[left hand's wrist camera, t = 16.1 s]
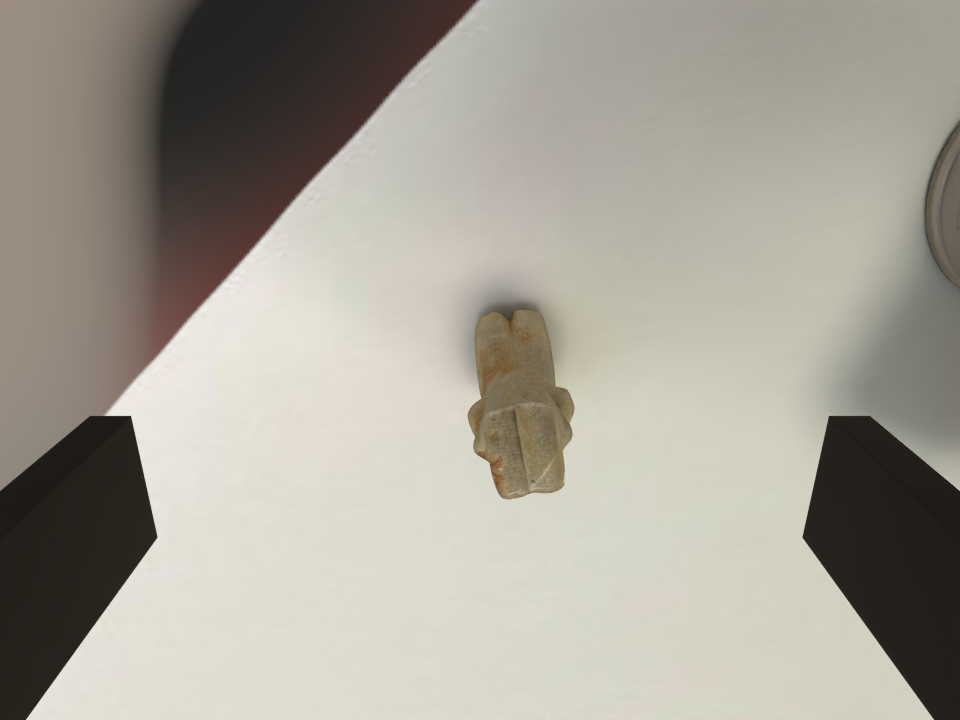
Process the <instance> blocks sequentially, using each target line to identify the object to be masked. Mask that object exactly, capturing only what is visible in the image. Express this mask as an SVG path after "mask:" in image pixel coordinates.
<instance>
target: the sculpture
mask: <svg viewBox="0 0 960 720" xmlns="http://www.w3.org/2000/svg"><path fill="white" fill-rule="evenodd" d="M475 350H476V364H477V375H478V381H479V388H480V394H481V398H482V399H480V400H479V401H477V402H476V403H475V404H474V405H473V406H472V407H471V408H470V410H469V412H468V420H469V424H470V427H471V429H472V432H473V433H474V435H475V439H474V445H473V447H474V451H475V453H476V454H477V455H479V456H480V457H482V458H484V459H485V460H487V461H488V462H489V463H490V467H491V473H492V477H493V480H494V483H495V486H496V489H497V491H498V493H499V495H500V496H501V497H502V498H504V499H514V498H519V497H523V496H525V495H527V494H530V493H552V492H555V491H558V490H559V489H561V488H562V487H563V486H564V472H565V468H564V458H563V449H564V447H565V446H566V445H567V444H568V443H569V441H570V440H571V438H572V435H573V434H572V429H571V426H570V424H569V422H570V421H571V418H572V416H573V414H574V404H573V401H572V398H571V396H570V394H569V392H568V390H566V389H564V388H560V387H555V374H554V365H553V358H552V352H551V347H550V342H549V338H548V333H547V330H546V326H545V322H544V319H543V317H542V315H541V314H540V313H538V312H536V311H530V310H521V309H520V310H516V311H515V312H514V313H513V317H512V319H511V320H508V319H506V318H505V317H504V316H503V315H501V314H500V313H496V312H492V313H489V314H487V315H485V316H483V317H481V318H480V319H479V321H478V322H477V325H476V332H475Z"/></svg>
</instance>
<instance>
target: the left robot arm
mask: <svg viewBox="0 0 960 720" xmlns="http://www.w3.org/2000/svg"><path fill="white" fill-rule="evenodd" d="M926 227H927V235H928V239H929V244H930V247H931V250H932V253H933V255H934V257H935V259H936V261H937V263H938V265H939V266H940V268H941V269H942V271H943V272H944V274H945V275H946V276H947V277H948V278H949V279H950V280H951V281H952V282H953V283H954V284H955V285H956V286H957V287H959V288H960V125H959V126H958V127H957V129H956V130H955V132H954V133H953V135H952V136H951V138H950V139H949V141H948V143H947V145H946V146H945V148H944V150H943V152H942V154H941V156H940V158H939V160H938V163H937V165H936V168H935V170H934V173H933V176H932V180H931V183H930V187H929V192H928V197H927V205H926ZM156 539H157V533H156V528H155V524H154V519H153V515H152V510H151V505H150V501H149V496H148V492H147V487H146V483H145V478H144V473H143V469H142V464H141V460H140V455H139V451H138V446H137V441H136V437H135V432H134V428H133V423H132V419H131V416H90V417H88V418H87V419H86V420H85V421H84V422H82V423H81V424H80V425H79V426H78V427H77V428H75V429H74V430H73V431H72V432H70V433H69V434H68V435H67V436H66V437H65V438H63V439H62V440H61V441H60V442H59V443H57V444H56V445H55V446H54V447H53V448H51V449H50V450H49V451H48V452H47V453H45V454H44V455H43V456H42V457H41V458H39V459H38V460H37V461H36V462H35V463H33V464H32V465H31V466H30V467H29V468H27V469H26V470H25V471H24V472H23V473H21V474H20V475H19V476H18V477H17V478H15V479H14V480H13V481H12V482H11V483H9V484H8V485H7V486H6V487H5V488H3V489H2V490H1V491H0V720H26V719H27V717H28V716H29V715H30V713H31V712H32V710H33V709H34V708H35V706H36V705H37V704H38V702H39V701H40V699H41V698H42V697H43V695H44V694H45V692H46V691H47V690H48V688H49V687H50V686H51V684H52V683H53V681H54V680H55V679H56V677H57V676H58V674H59V673H60V672H61V670H62V669H63V668H64V666H65V665H66V663H67V662H68V661H69V659H70V658H71V656H72V655H73V654H74V652H75V651H76V650H77V648H78V647H79V645H80V644H81V643H82V641H83V640H84V638H85V637H86V636H87V634H88V633H89V632H90V630H91V629H92V627H93V626H94V625H95V623H96V622H97V620H98V619H99V618H100V616H101V615H102V614H103V612H104V611H105V609H106V608H107V607H108V605H109V604H110V602H111V601H112V600H113V598H114V597H115V596H116V594H117V593H118V591H119V590H120V589H121V587H122V586H123V584H124V583H125V582H126V580H127V579H128V578H129V576H130V575H131V573H132V572H133V571H134V569H135V568H136V567H137V565H138V564H139V562H140V561H141V560H142V558H143V557H144V555H145V554H146V553H147V551H148V550H149V549H150V547H151V546H152V544H153V543H154V542H155V540H156ZM803 539H804V540H805V542H806V543H807V544H808V546H809V547H810V549H811V550H812V551H813V553H814V554H815V555H816V557H817V558H818V560H819V561H820V562H821V564H822V565H823V567H824V568H825V569H826V571H827V572H828V573H829V575H830V576H831V578H832V579H833V580H834V582H835V583H836V584H837V586H838V587H839V589H840V590H841V591H842V593H843V594H844V596H845V597H846V598H847V600H848V601H849V602H850V604H851V605H852V607H853V608H854V609H855V611H856V612H857V614H858V615H859V616H860V618H861V619H862V620H863V622H864V623H865V625H866V626H867V627H868V629H869V630H870V632H871V633H872V634H873V636H874V637H875V638H876V640H877V641H878V643H879V644H880V645H881V647H882V648H883V650H884V651H885V652H886V654H887V655H888V656H889V658H890V659H891V661H892V662H893V663H894V665H895V666H896V668H897V669H898V670H899V672H900V673H901V674H902V676H903V677H904V679H905V680H906V681H907V683H908V684H909V686H910V687H911V688H912V690H913V691H914V692H915V694H916V695H917V697H918V698H919V699H920V701H921V702H922V704H923V705H924V706H925V708H926V709H927V710H928V712H929V713H930V715H931V716H932V717H933V719H934V720H960V491H959V490H958V489H957V488H955V487H954V486H953V485H952V484H951V483H949V482H948V481H947V480H946V479H945V478H943V477H942V476H941V475H940V474H939V473H937V472H936V471H935V470H934V469H933V468H931V467H930V466H929V465H928V464H927V463H925V462H924V461H923V460H922V459H921V458H919V457H918V456H917V455H916V454H915V453H913V452H912V451H911V450H910V449H909V448H907V447H906V446H905V445H904V444H903V443H901V442H900V441H899V440H898V439H897V438H896V437H894V436H893V435H892V434H891V433H890V432H888V431H887V430H886V429H885V428H884V427H882V426H881V425H880V424H879V423H878V422H876V421H875V420H874V419H873V418H872V417H870V416H829V419H828V423H827V428H826V432H825V437H824V441H823V446H822V451H821V455H820V460H819V464H818V469H817V473H816V478H815V483H814V487H813V492H812V496H811V501H810V505H809V510H808V515H807V519H806V524H805V528H804V533H803Z"/></svg>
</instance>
